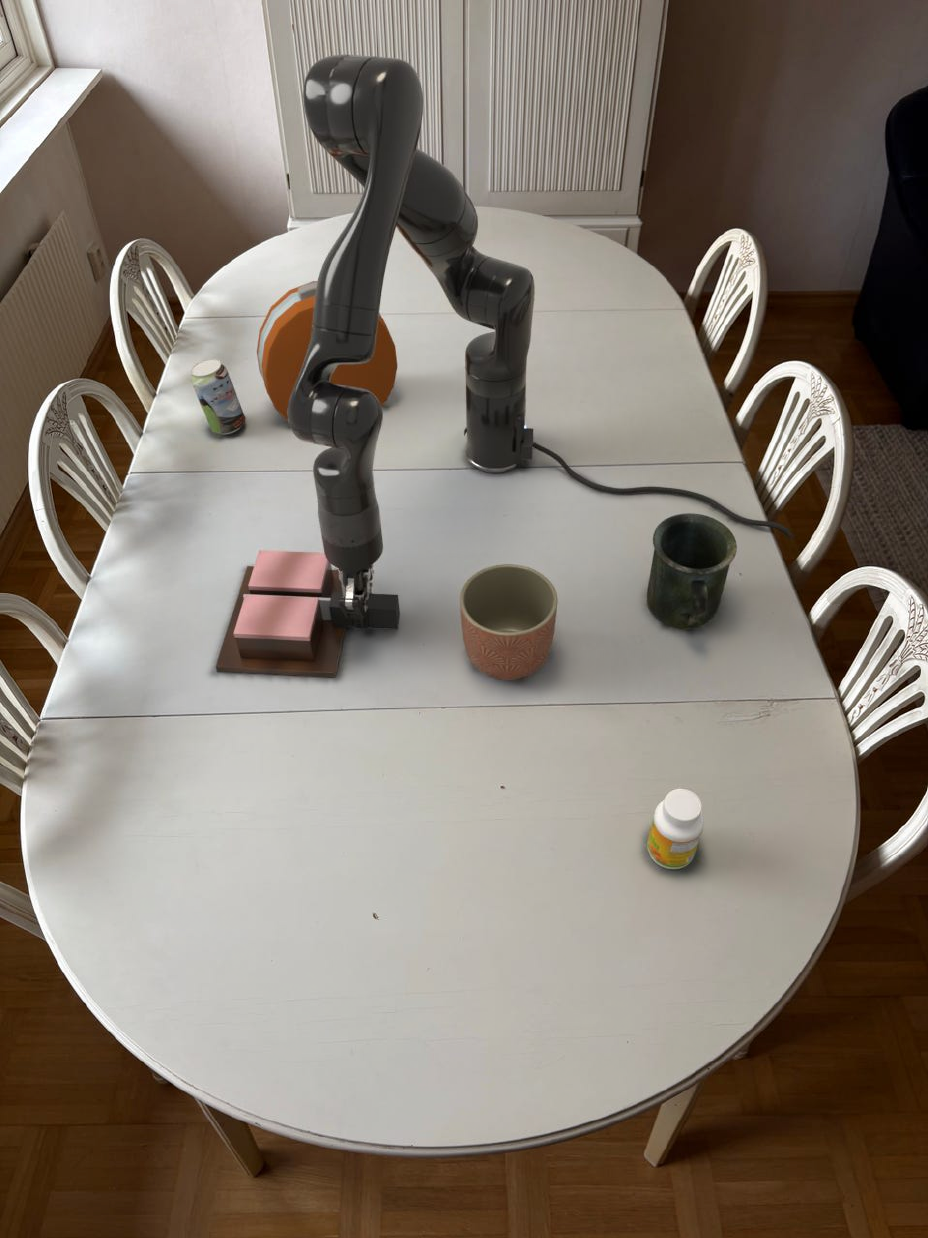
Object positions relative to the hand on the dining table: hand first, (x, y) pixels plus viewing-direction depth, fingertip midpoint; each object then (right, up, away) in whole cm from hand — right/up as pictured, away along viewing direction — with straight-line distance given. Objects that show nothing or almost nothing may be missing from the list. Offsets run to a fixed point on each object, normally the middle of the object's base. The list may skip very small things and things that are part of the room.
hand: (363, 617), depth 137 cm
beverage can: (-27, +32, +32) cm, 52 cm away
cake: (-10, -1, +2) cm, 11 cm away
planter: (+20, -5, -3) cm, 20 cm away
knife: (-6, 0, +1) cm, 6 cm away
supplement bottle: (+37, -27, -23) cm, 51 cm away
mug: (+44, +1, +2) cm, 44 cm away
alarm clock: (-9, +37, +36) cm, 53 cm away
